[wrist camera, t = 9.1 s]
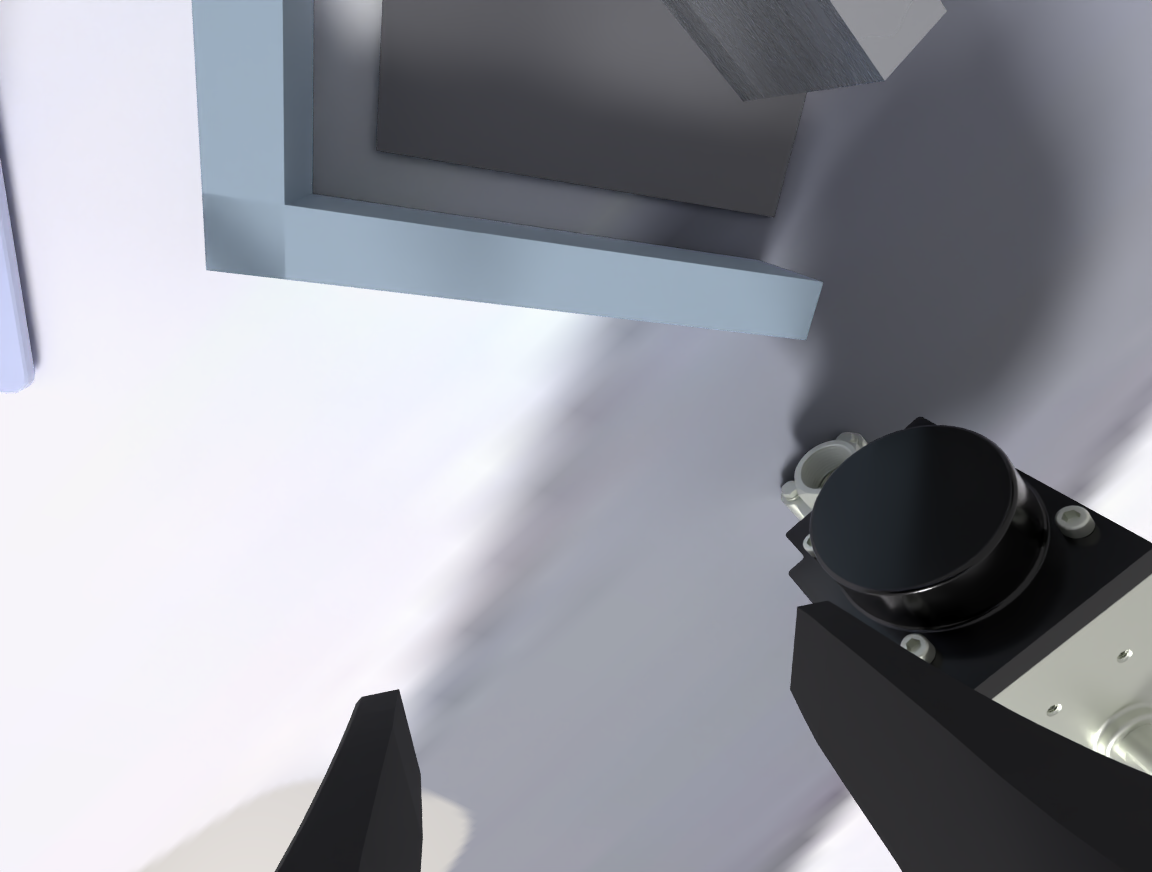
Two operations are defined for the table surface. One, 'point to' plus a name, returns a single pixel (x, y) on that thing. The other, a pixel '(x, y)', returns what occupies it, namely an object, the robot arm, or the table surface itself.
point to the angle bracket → (804, 40)
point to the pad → (578, 100)
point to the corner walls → (417, 237)
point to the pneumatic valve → (984, 577)
